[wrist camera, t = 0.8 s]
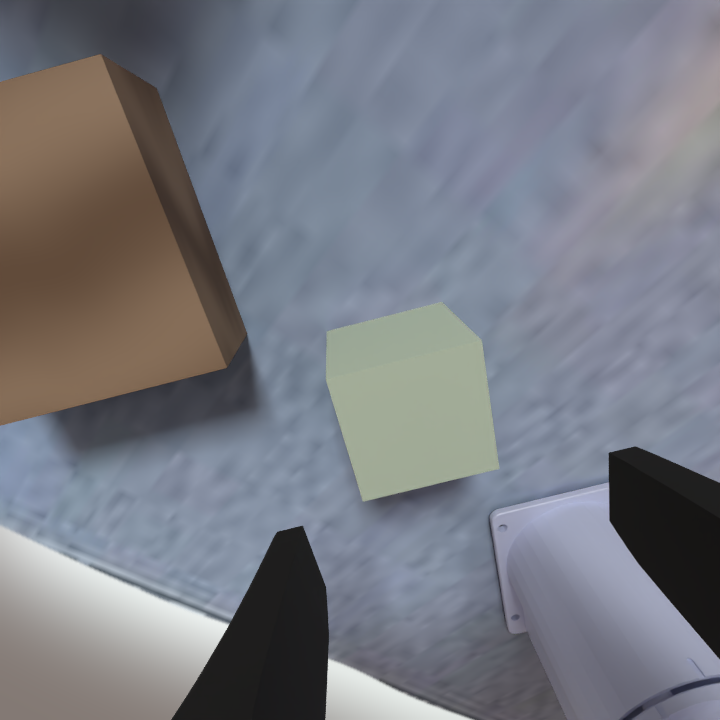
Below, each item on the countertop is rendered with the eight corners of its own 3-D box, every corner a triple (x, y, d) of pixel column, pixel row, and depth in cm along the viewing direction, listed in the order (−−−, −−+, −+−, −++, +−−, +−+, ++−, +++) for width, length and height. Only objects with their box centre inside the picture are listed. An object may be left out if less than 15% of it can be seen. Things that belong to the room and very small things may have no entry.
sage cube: (458, 402, 19) (499, 468, 15) (355, 428, 19) (363, 501, 15) (441, 301, 17) (481, 340, 13) (326, 330, 18) (325, 379, 13)
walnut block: (248, 331, 18) (226, 367, 14) (48, 382, 18) (-26, 432, 14) (160, 90, 14) (100, 54, 11) (-86, 157, 14) (-229, 145, 11)
